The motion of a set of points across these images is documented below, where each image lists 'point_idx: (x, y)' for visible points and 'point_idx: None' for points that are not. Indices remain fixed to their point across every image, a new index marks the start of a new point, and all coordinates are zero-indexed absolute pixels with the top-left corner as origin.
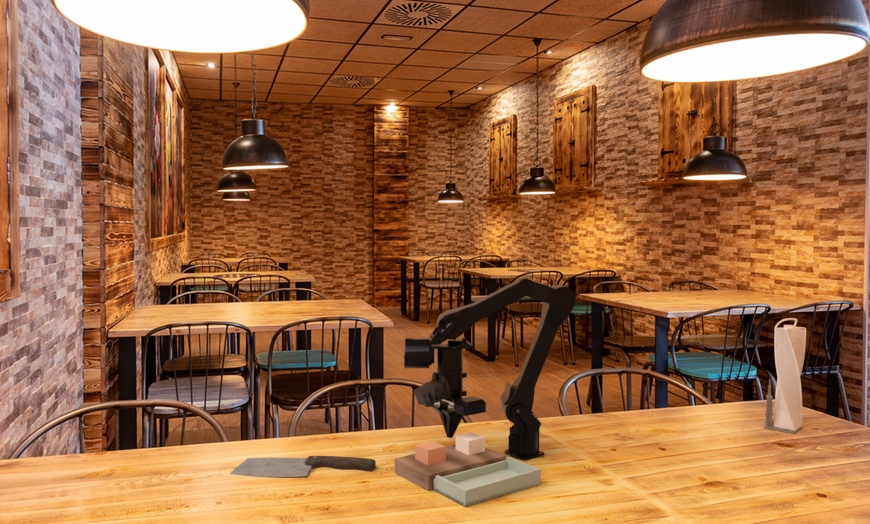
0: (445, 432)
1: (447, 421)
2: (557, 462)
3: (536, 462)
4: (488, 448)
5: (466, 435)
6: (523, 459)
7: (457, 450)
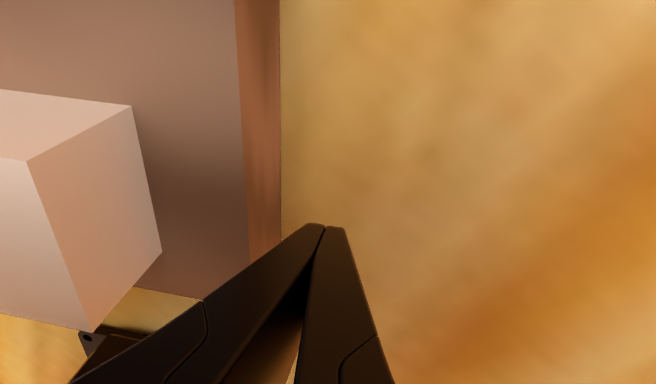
0: (347, 250)
1: (208, 339)
2: (36, 365)
3: (57, 332)
4: None
5: (7, 241)
6: None
7: (103, 100)
